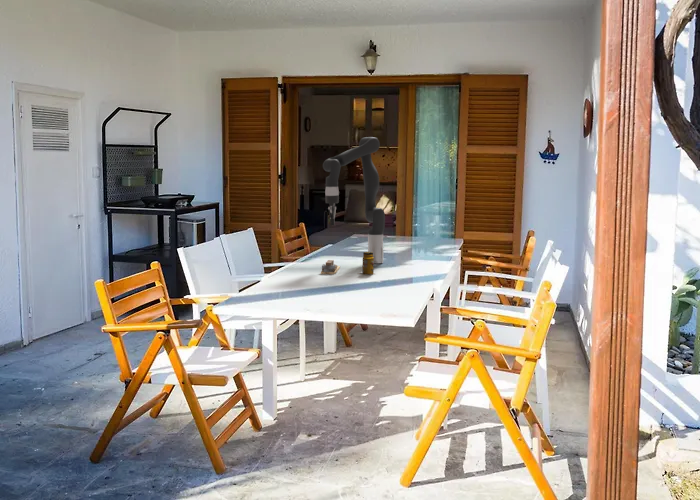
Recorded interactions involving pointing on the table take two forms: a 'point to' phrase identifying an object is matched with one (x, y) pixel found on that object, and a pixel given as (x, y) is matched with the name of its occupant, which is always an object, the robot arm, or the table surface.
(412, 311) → the table surface
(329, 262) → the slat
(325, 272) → the guide board
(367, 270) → the condiment
